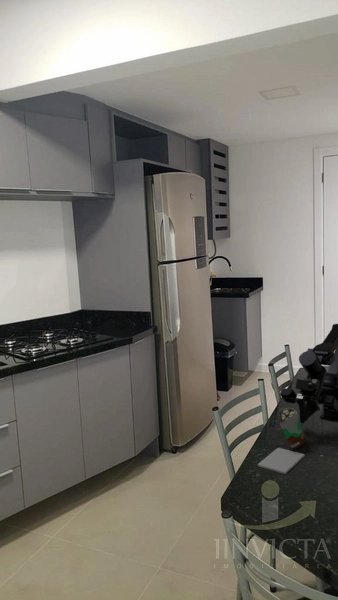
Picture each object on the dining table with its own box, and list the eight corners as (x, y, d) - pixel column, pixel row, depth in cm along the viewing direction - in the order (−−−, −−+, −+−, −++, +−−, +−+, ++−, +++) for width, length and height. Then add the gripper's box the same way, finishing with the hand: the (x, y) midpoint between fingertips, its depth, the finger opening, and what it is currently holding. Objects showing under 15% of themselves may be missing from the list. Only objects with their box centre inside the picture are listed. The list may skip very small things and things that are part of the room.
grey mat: (278, 449, 151) (277, 447, 151) (304, 456, 145) (304, 454, 145) (257, 466, 141) (257, 464, 141) (285, 474, 135) (285, 472, 135)
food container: (311, 445, 147) (298, 417, 146) (292, 452, 148) (279, 424, 148) (307, 429, 158) (295, 403, 158) (290, 435, 160) (278, 409, 159)
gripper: (281, 365, 161) (266, 406, 154) (334, 372, 149) (322, 417, 142) (292, 381, 168) (278, 421, 161) (344, 389, 156) (332, 432, 149)
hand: (301, 422), depth 153 cm, fingers closed
